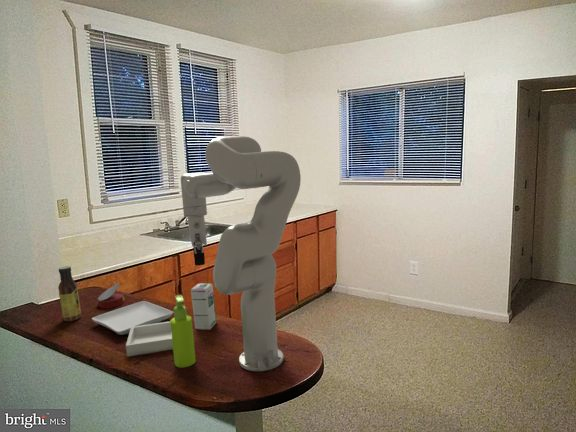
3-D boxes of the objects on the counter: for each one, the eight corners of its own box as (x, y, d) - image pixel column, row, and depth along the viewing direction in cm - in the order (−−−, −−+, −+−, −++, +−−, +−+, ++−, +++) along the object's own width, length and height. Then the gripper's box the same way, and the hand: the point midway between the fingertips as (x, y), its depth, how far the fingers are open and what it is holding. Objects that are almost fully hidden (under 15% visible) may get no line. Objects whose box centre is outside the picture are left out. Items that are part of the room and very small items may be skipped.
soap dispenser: (177, 371, 116) (169, 302, 113) (173, 360, 123) (166, 294, 119) (198, 365, 119) (191, 298, 115) (193, 355, 125) (187, 290, 122)
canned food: (118, 317, 169) (110, 301, 163) (96, 313, 172) (87, 297, 166) (132, 296, 178) (125, 279, 172) (111, 293, 180) (104, 276, 174)
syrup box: (210, 329, 142) (207, 288, 139) (194, 329, 143) (190, 288, 141) (216, 322, 147) (213, 283, 145) (201, 322, 149) (197, 282, 146)
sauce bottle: (82, 319, 157) (75, 267, 154) (64, 323, 154) (56, 271, 150) (80, 314, 162) (73, 264, 159) (62, 318, 159) (54, 267, 156)
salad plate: (144, 307, 167) (143, 299, 166) (175, 319, 153) (174, 311, 152) (91, 326, 151) (89, 317, 151) (120, 342, 137) (118, 332, 137)
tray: (175, 348, 129) (174, 338, 129) (127, 356, 126) (125, 345, 126) (175, 330, 143) (174, 320, 142) (132, 336, 140) (131, 326, 139)
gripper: (208, 214, 131) (212, 266, 134) (205, 206, 148) (209, 253, 151) (183, 216, 129) (188, 269, 133) (183, 208, 146) (187, 255, 149)
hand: (199, 260), depth 142 cm, fingers open, 9 cm apart
